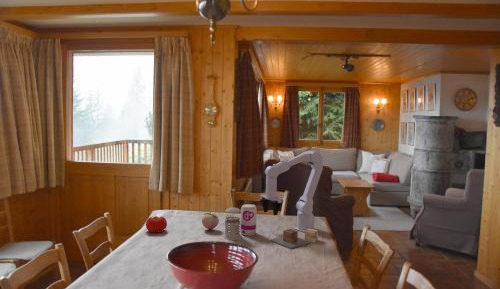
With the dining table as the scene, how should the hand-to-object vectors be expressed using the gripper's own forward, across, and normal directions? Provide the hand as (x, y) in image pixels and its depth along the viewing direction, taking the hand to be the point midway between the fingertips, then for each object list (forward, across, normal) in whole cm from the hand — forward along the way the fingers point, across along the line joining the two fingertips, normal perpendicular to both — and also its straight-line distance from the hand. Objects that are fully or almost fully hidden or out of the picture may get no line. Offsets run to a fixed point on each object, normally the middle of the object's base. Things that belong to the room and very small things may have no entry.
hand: (270, 213), depth 202 cm
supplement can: (+10, -4, -12) cm, 16 cm away
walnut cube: (+9, +19, -4) cm, 21 cm away
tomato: (+10, -36, -49) cm, 62 cm away
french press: (+10, -4, -23) cm, 25 cm away
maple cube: (+10, +23, +7) cm, 26 cm away
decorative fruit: (+10, -21, -25) cm, 34 cm away
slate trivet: (+10, +19, -4) cm, 22 cm away
